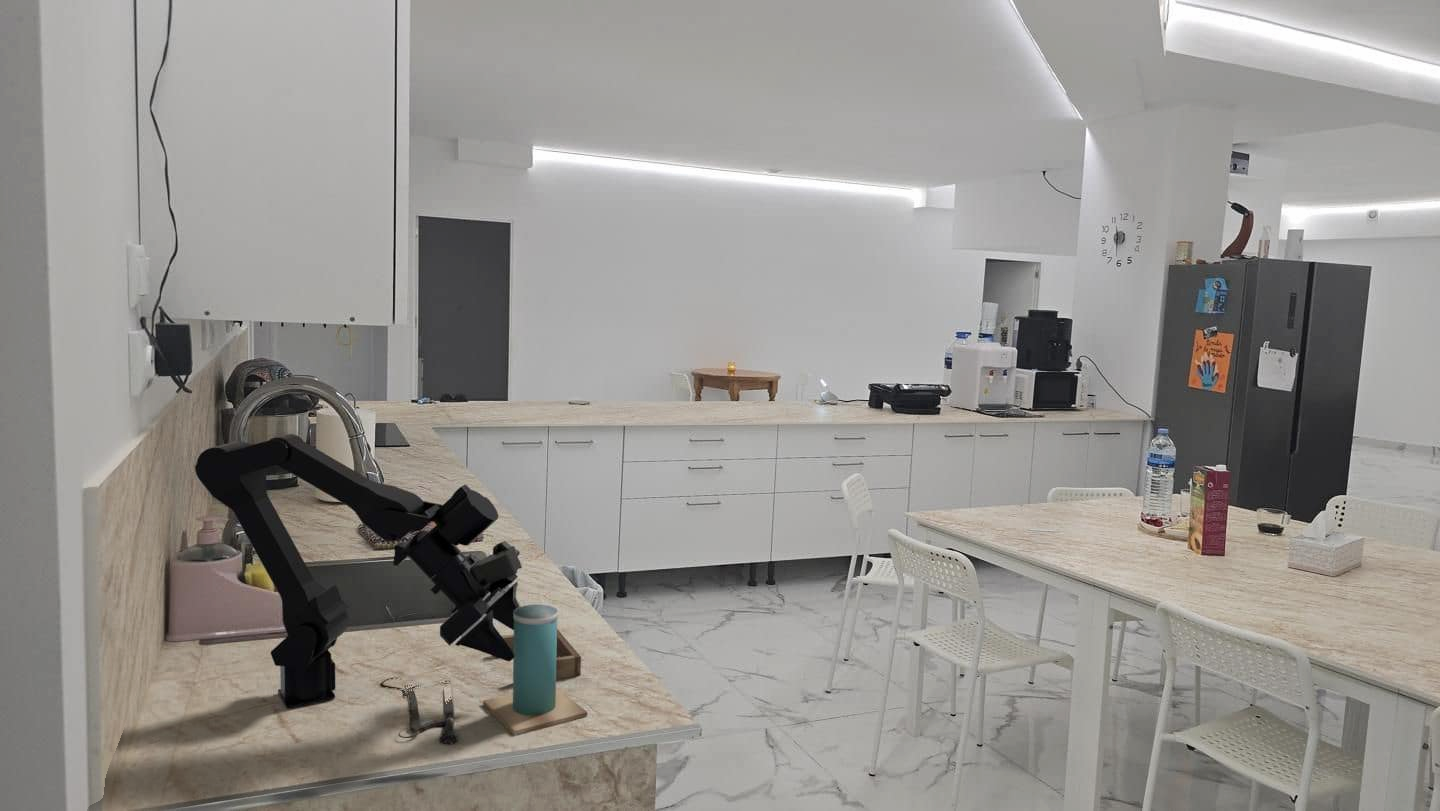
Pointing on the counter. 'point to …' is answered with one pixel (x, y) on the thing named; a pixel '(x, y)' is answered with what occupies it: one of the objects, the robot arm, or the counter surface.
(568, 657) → the cubby
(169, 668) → the counter surface
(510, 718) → the mat
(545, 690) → the tin
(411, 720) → the hacksaw
